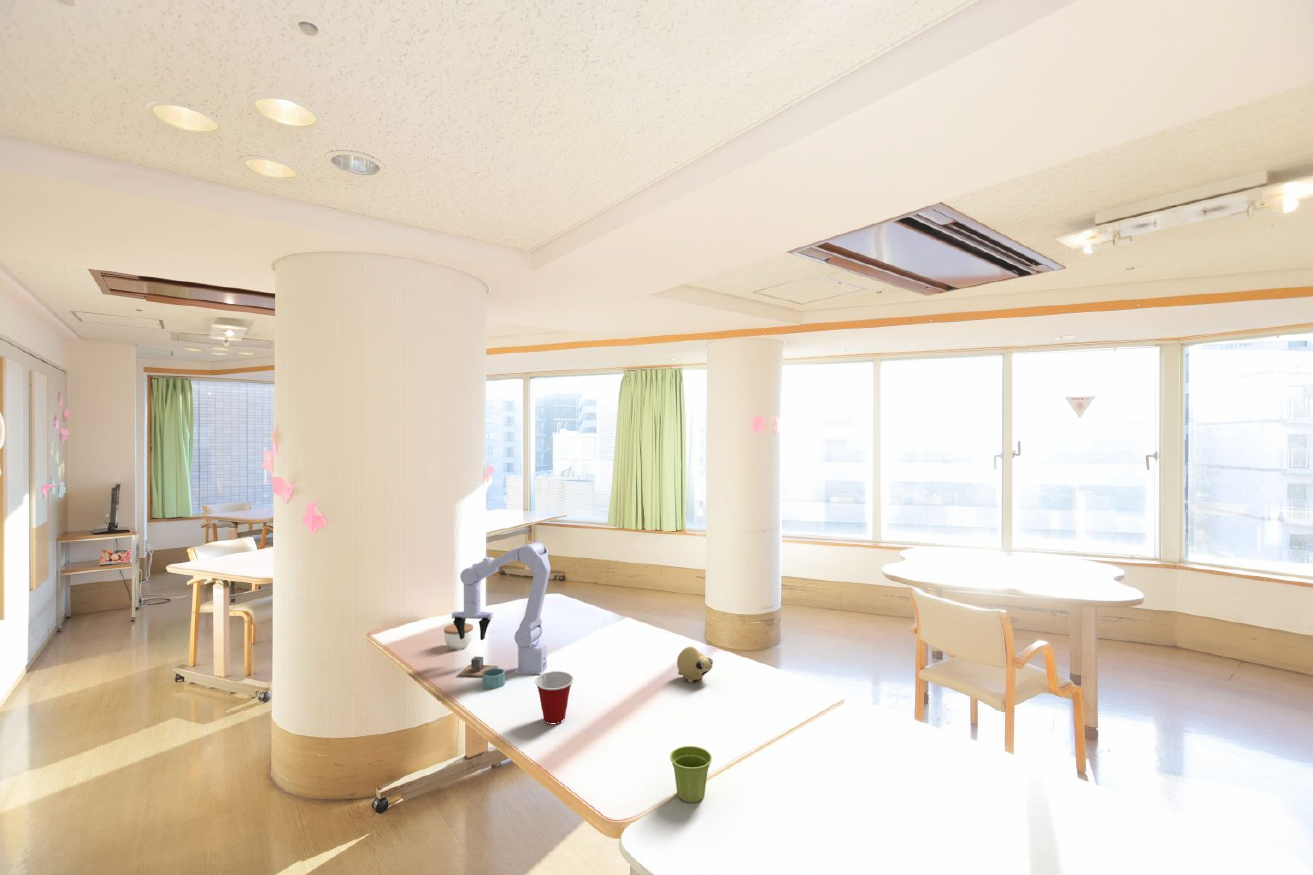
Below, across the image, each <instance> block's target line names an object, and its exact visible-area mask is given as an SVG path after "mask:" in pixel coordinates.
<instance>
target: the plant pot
mask: <svg viewBox="0 0 1313 875" xmlns="http://www.w3.org/2000/svg"><path fill="white" fill-rule="evenodd" d="M669 759H670V761H671V762H672V764H671V765H672V767H673V771H674V778H675V785H676V786H675V787H676V794H677V797H678V798H679V799H681V800H682V801H683V802H685V803H698V802H699V801H701V800H703V799H704V798H705V795H706V794H705V793H706V787H707V786H706V785H707V780H708V774H709V773H708V771H709V768H710V764H711V763H712V759H713V757H712V754H711V753H710V752H709V750H706V749H705V748H703V747H700V746H696V745H695V746H694V745H683V746H680V747H677V748H675V749H674V750H672V751H671V753H670V755H669Z"/></svg>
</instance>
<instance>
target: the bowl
mask: <svg viewBox="0 0 1313 875" xmlns="http://www.w3.org/2000/svg"><path fill="white" fill-rule="evenodd" d="M481 679H482V680H481V681H482V682H481V684H482V688H483V689H486V690H494V689H495V690H496V689H499V688H502V687H504V686H505V684H506V670H505V669H504V668H503V669H502V668H499V667H498V668H494V669H489V670H486V671H484V672H483V673H482V678H481Z"/></svg>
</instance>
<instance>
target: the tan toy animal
mask: <svg viewBox="0 0 1313 875" xmlns="http://www.w3.org/2000/svg"><path fill="white" fill-rule="evenodd" d="M678 654H679V655H678V657H677V659H676V665H677V670H678V673H677V674H678V676H683V678H685V679H687V682H688V683H689V682H691V683H693V681H698V680H702V679H703V678H704V676H705V675H706V674H707V673H709V672H710V671H711V670H712V668H713V664H714V663H713V662H714V661H713V659H712V658H711V657H708V656H705V655H704V654H703V653H702V652H701V651H700V650H698V649H697V648H696V647H693V646H686V647H685V648H683V649H682V650H681V651H680V653H678ZM701 678H702V679H701Z"/></svg>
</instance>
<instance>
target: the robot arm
mask: <svg viewBox="0 0 1313 875" xmlns="http://www.w3.org/2000/svg"><path fill="white" fill-rule="evenodd" d="M548 553H549V550H548V548H547V547H546V546H545V544H544V543H543V542H541V541H534V542H532V543H528V544H524V545H522V546H518V547H516V548H513V549H511V550H509V551H508V552H505V553H504V554H501V555H499V556H498V557H496V558H494V557H491V556H490V557H488V556H486V557H484V558H483V559H482V561H480V562H478V563H473V564H472V566H470V567H467V568H464V569H463V570H462V571H461V573H460V576H459V578H460V581H461V582H462V584H463V611H453V612H452V613H451V620H452V619H454V620H453V621H452V622H453V624H455V626H456V628H457V630H458V633H459V636H460V639H463V638H464V636H465V623H466V619H472V620H473V619H475V620H479V621H478V625H479V630H480V631H479V632H480V633H479V634H480V636H479V637H480V641H484V639H485V638H486V633H487V630H488V626H489V624H490V623H491V620H492V619H493V618H494V617H493V616H494V615H493V612H487V611H481V584H482V582H481V581H482V580H483V579H485V578H487V577H489V576H492V575H494V574H496V573H497V572H498V571H499V568H500V567H501V566H504V565H506V564H509V563H510V562H512V561H516V562H521V563H523V564H524V565H525V566H526V567H527V568H528V569H530V570H531V571H532V573H533V577H532V581H531V586H530V591H529V594H528V600H527V603H526V607H525V608H526V609H525V613H524V615H523V616H524V617H523V619H522V620H521V621H520V623H519V627H518V629H517V630H516V632H514V633H515V634H514V641H515V643H516V645H517V665H518V666H517V668H516V669H515V670H514V671H513V673H514V674H521V675H522V674H526V675H541V674H543V672H544V670H546V668H547V667H548V664H547V662H548V661H547V660H548V659H547V645H546V644H541V643H540V637H541V636H542V634H543V629H542V628H543V627H542V622H543V621H542V619H541V614H542V609H543V605H544V602H545V601H544V600H545V596H546V592H547V587H548V582H549V579H550V575H551V571H552V570H551V569H552V568H551V565H550V561H549V556H548Z"/></svg>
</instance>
